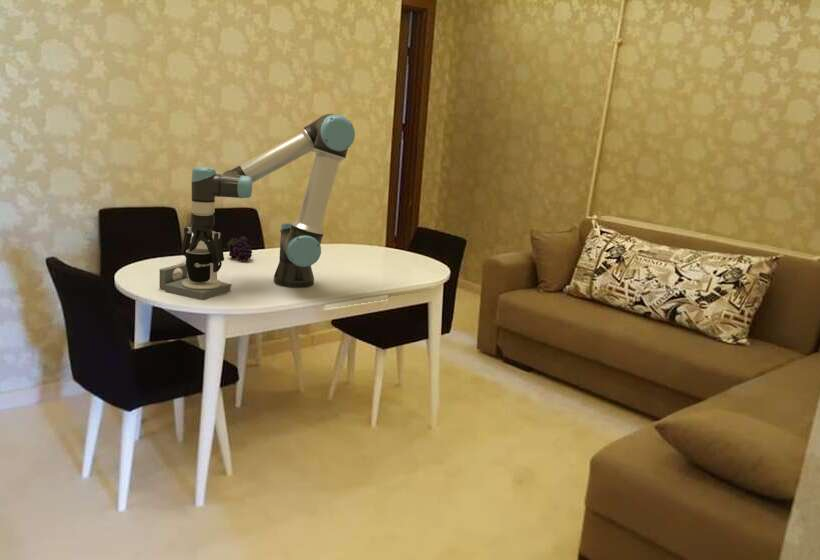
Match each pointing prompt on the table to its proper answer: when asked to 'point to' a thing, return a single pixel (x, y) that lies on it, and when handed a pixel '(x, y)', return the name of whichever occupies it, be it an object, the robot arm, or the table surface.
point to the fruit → (240, 248)
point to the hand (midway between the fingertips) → (202, 278)
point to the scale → (189, 284)
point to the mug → (199, 264)
